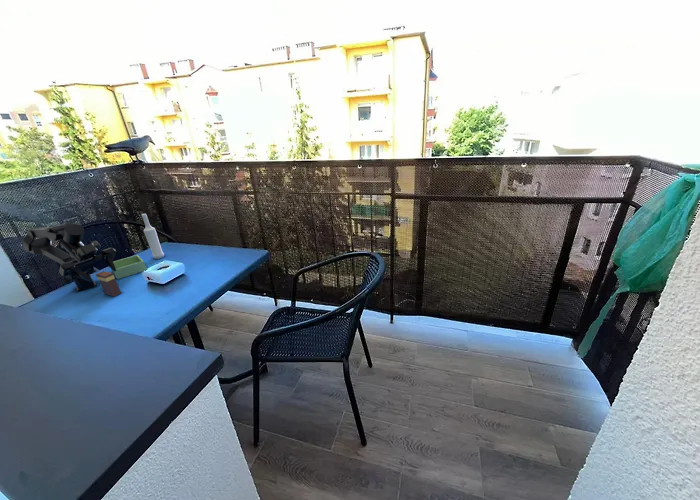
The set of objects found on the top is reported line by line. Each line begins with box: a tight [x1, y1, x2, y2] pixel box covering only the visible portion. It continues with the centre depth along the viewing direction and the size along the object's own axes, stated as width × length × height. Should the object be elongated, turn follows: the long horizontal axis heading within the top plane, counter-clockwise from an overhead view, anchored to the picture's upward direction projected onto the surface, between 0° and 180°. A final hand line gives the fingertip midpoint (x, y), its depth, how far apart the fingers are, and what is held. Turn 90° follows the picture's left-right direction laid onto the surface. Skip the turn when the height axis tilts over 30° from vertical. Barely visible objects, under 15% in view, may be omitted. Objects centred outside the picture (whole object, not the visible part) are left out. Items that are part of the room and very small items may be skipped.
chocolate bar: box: [95, 270, 122, 297], centre depth 116 cm, size 6×3×10 cm, turn 69°
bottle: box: [141, 213, 165, 260], centre depth 147 cm, size 5×5×25 cm
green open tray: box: [110, 254, 147, 280], centre depth 137 cm, size 12×12×5 cm
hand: (103, 275), depth 115 cm, fingers open, 9 cm apart
